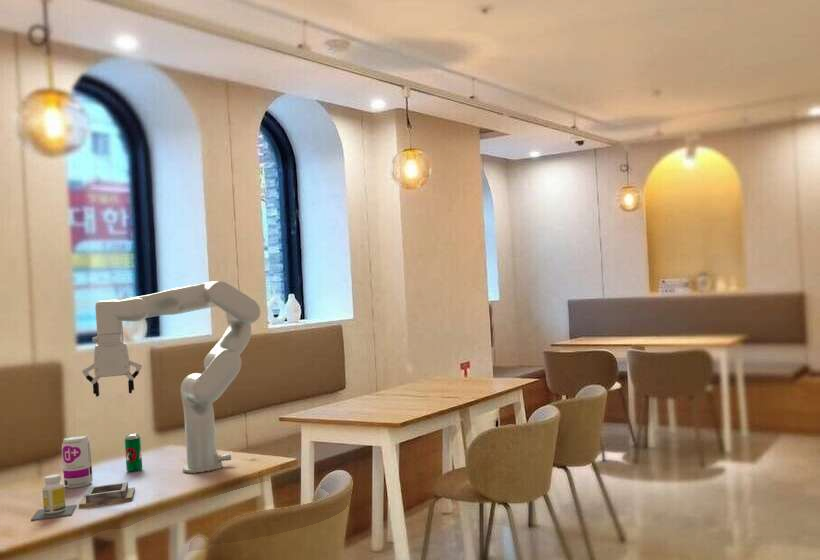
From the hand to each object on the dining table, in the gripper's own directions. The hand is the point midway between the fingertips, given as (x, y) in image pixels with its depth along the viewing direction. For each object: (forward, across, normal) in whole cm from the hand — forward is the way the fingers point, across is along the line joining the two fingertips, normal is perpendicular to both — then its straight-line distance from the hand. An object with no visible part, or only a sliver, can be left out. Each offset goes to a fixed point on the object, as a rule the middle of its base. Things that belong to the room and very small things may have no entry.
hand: (114, 394), depth 235 cm
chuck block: (+28, -2, -16) cm, 33 cm away
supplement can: (+28, -13, +8) cm, 32 cm away
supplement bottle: (+28, -15, -24) cm, 40 cm away
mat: (+28, -15, -24) cm, 40 cm away
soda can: (+28, +3, +19) cm, 34 cm away
